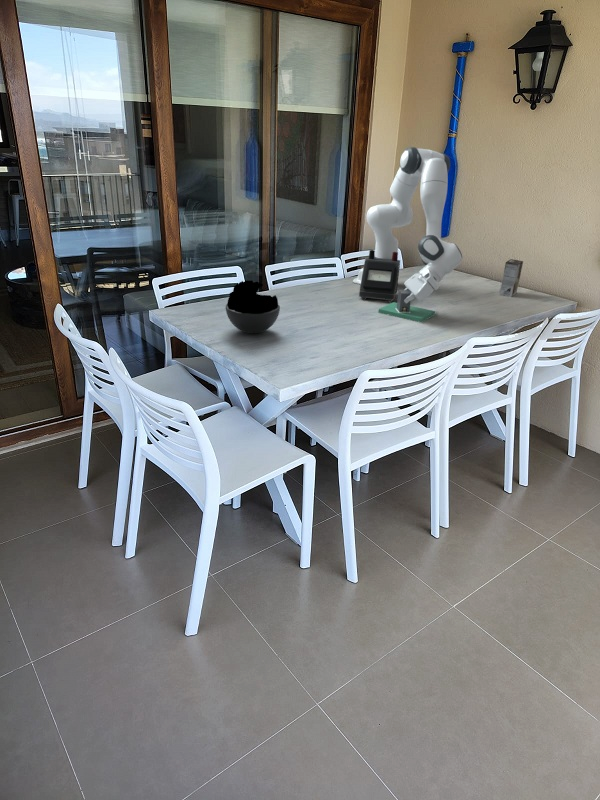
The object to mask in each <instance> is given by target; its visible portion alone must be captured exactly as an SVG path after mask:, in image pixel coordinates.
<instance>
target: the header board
mask: <svg viewBox="0 0 600 800" xmlns="http://www.w3.org/2000/svg"><path fill="white" fill-rule="evenodd" d="M396 308H397V302H394V301H392V302H390V303H389V304H386V305H384V306H382V307H380V308H379V309H378V313H379V314H383V313H384V314H383V315H387V314H389V316H392V315H393V316H394V317H396V316H397V318H401V317H402V318H401V319H405V318H406V320H409V319H410V320H409V321H414V320H415V322H418V321H419V323H422V321H423V322H425V321H426V320H428V319H430V318H432V317H433V316H435V315H436V311H435V310H431V309H427V308H423V307H418V306H414V305H413V306H412V305H410V311H409V312H406V311H405V312H403V311H402V312H399V311H398V310H397V309H396ZM393 316H392V317H393ZM431 316H432V317H431ZM429 317H430V318H429ZM424 320H425V321H424Z"/></svg>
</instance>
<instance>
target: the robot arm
mask: <svg viewBox="0 0 600 800" xmlns="http://www.w3.org/2000/svg"><path fill="white" fill-rule="evenodd" d="M450 167H451V160H450V157H449V155H447V154H446V153H443V152H438V151H436V150H432V149H425V148H419V147H418V148H417V147H414V146H411V147H410V146H409V147H407V148H405V149H404V150H403V151H402V153H401V154H400V160H399V168H398V170H397V172H396V175H395V176H394V179H393V181H392V182H391V186H390V188H389V193H390V195H391V198H392V200H391V202H390V203H387V204H386V203H383V204H380V203H379V204H377V205H373V206H371V207H369V209H368V210H367V212H366V217H365V218H366V223H367V224H368V226H369V227H370V228H371V229H372V231H373V234H374V238H375V246H374V247H375V249H374V250H375V255H374V258H379V259H391V260H392V255H393V252H398V251H399V240H398V238H396V236H394V234H393V229H394V228H402V227H405V226H409V225H410V224H411V223H412V221H413V218H414V211H413V208H412V206H411V204H412V199H413V196H414V195H415V193H416V190H417V187H418V185H420V187H419V190H420V191H419V193H420V194H419V195H420V203H421V206H422V209H423V212H424V216H425V221H426V235H424V236H423V237H421V239H420V240H419V242H418V244H417V251H418V253H419V256H420V258H421V262H422V263H423V264H424V265H425V266H423V267H422V268H421V269H420V270H418V272H415V273H414V274H412V276H410V277H409V278H408V279H406V280H405V281H404V283H403V285H404V286H405V288H404V290H409V291H410V292H411V294H410V296H408V297H406V298H405V299H404V302H405V303H408V302H409V301H411V302H412V301H413V300H415V299H417V300H418V301H419V302H420V301H423V300H425V299H426V298H428V297H429V296H430V295H431V294H432V293H433V292H434V291H437V290H438V289H439V288H440V282H441V281H442V280H443V278H445V276H446V275H448V274H450V273H451V272H452V271H454V270H455V269H456V268H457V267H458V265H460V263H461V262H462V261H463V253H462V251H461V250H460V248H459V246H458V245H457V244H456V243H452V242H448V241H444V240H443V239H442V223H443V221H442V220H443V214H444V210H445V209H444V208H445V204H446V201H447V195H448V186H449V185H448V183H449V182H448V181H449V180H448V178H449V177H448V173H449V171H450ZM419 183H420V184H419ZM398 253H399V252H398ZM398 258H399V257H398ZM398 258H397V260H399V259H398ZM363 268H364V266H363V267H362V268H361V269H360V270H359V271H358V275H357V277H355V278H354V279H353V281H352V282H353V283H354V284H358V285H361V279H362V273H363Z"/></svg>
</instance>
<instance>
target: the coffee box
mask: <svg viewBox="0 0 600 800" xmlns="http://www.w3.org/2000/svg"><path fill="white" fill-rule="evenodd" d="M523 263H524V261H523V260H518V259H513V258H511V259H508V260H506V262H505V265H504V270H503V274H502V275H503V276H502V279H501V285H500V288H499V289H500V290H499V294H500V295H499V296H504V295H505V297H509V296H510V298H512V297H514V296H515V295H516V294H517V292H518V287H519V283H520V278H521V275H522V269H523ZM513 295H514V296H513Z"/></svg>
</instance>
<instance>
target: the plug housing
mask: <svg viewBox="0 0 600 800" xmlns="http://www.w3.org/2000/svg"><path fill="white" fill-rule="evenodd" d="M397 291H398V293H397V302H396V303H397V308H396V309H397V310H398V311H399V312H402V308H403V307H405V311H406V312H409V311H410V306H411V303H412V300H411V301H409V302H408V303H405V302H404V299H405V298H406V297H408V296H410V294H411V292H410V291H409V290H405V289H398V290H397Z"/></svg>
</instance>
